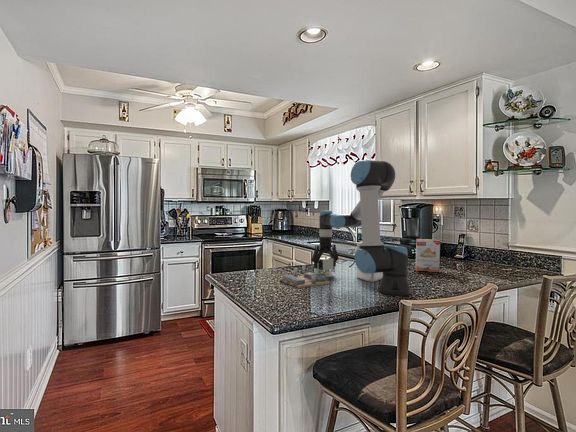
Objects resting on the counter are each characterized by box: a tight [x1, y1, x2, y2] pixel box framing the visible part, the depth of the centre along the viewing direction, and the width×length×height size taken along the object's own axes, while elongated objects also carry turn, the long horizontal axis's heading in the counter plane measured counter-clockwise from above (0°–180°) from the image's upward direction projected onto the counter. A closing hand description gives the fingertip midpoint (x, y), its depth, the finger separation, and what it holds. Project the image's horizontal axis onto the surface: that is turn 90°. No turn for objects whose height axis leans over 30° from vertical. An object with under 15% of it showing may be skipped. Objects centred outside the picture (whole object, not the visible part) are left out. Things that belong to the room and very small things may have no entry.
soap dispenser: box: [356, 240, 383, 283], centre depth 199 cm, size 15×14×22 cm
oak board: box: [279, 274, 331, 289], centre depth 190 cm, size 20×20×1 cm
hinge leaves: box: [282, 267, 327, 284], centre depth 190 cm, size 20×19×5 cm
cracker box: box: [415, 238, 441, 273], centre depth 222 cm, size 14×6×21 cm, turn 73°
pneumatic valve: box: [318, 256, 337, 278], centre depth 205 cm, size 6×12×12 cm, turn 119°
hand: (325, 272), depth 205 cm, fingers closed on pneumatic valve, 11 cm apart
